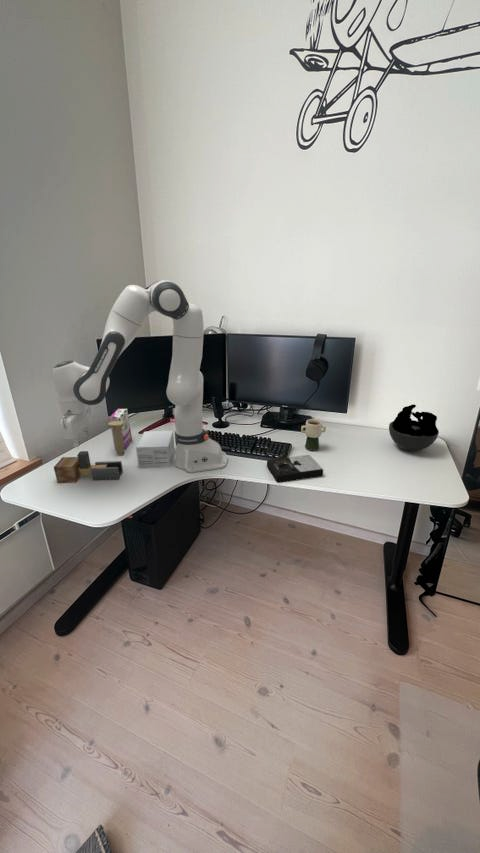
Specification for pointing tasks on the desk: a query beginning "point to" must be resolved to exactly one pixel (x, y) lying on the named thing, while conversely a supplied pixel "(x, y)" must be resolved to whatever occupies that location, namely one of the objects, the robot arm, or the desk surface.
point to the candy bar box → (126, 431)
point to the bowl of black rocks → (413, 429)
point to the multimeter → (294, 468)
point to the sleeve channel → (107, 471)
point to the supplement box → (155, 449)
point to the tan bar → (86, 464)
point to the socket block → (67, 470)
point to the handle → (117, 436)
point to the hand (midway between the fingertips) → (81, 441)
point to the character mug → (313, 433)
